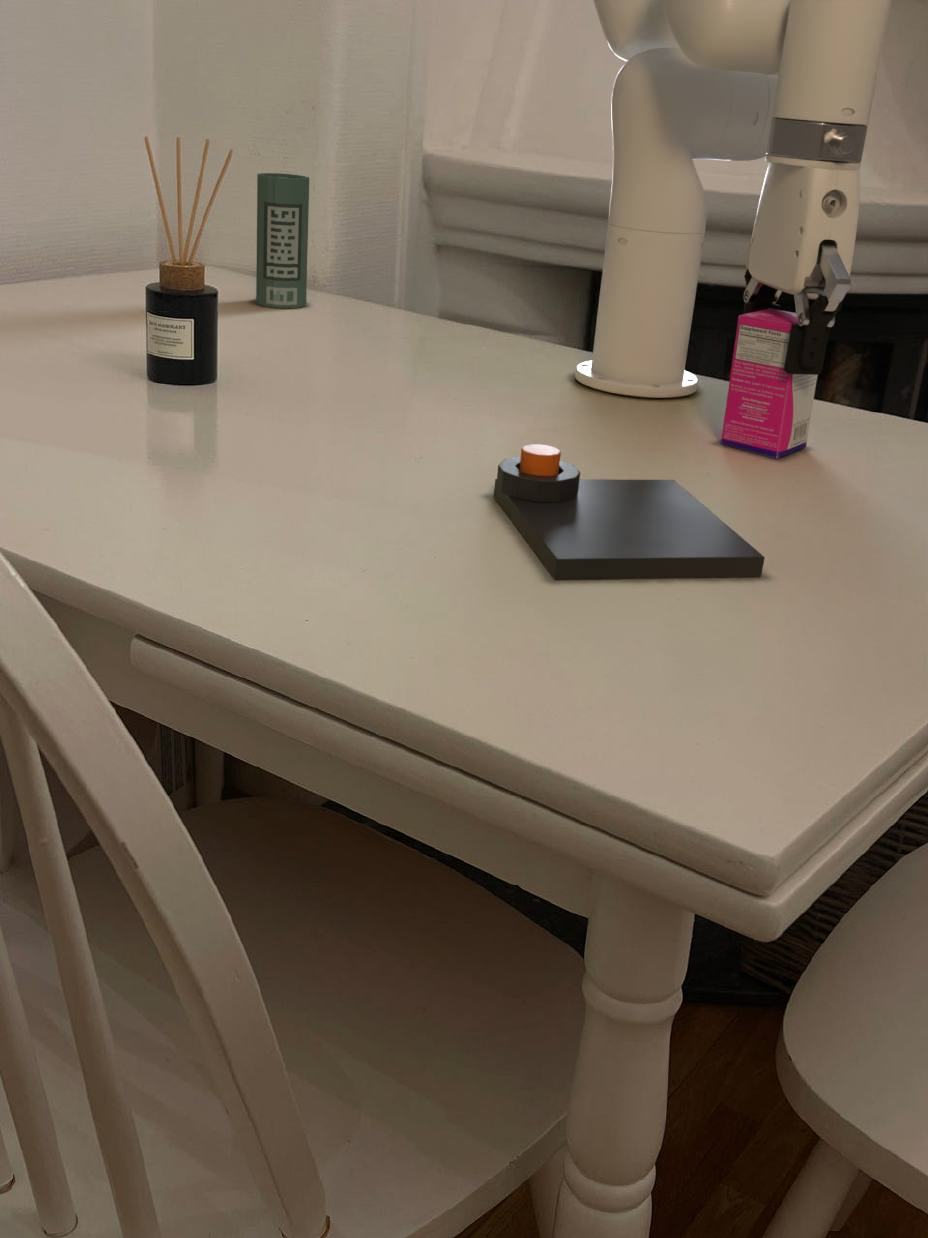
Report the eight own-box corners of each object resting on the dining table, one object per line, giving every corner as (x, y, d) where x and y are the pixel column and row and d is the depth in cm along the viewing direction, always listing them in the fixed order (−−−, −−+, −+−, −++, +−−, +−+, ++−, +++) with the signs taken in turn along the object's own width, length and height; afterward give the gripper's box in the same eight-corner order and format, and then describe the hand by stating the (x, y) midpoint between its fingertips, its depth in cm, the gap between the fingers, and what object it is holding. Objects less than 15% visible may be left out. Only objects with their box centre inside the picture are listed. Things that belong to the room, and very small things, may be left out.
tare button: (514, 467, 91) (517, 443, 90) (552, 467, 91) (554, 443, 91) (525, 479, 88) (527, 455, 88) (563, 479, 89) (565, 455, 88)
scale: (487, 495, 93) (491, 455, 92) (669, 495, 96) (675, 457, 95) (549, 580, 78) (554, 534, 77) (761, 577, 82) (769, 533, 80)
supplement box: (747, 433, 115) (769, 306, 110) (807, 448, 112) (832, 318, 107) (716, 443, 111) (737, 312, 106) (777, 459, 108) (802, 325, 103)
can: (304, 300, 159) (307, 175, 153) (306, 309, 154) (310, 179, 148) (256, 297, 158) (257, 171, 152) (256, 306, 153) (257, 176, 147)
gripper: (914, 157, 94) (867, 386, 101) (807, 141, 110) (773, 341, 117) (823, 151, 93) (782, 384, 100) (728, 136, 108) (698, 338, 115)
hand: (777, 360), depth 108 cm, fingers open, 8 cm apart
